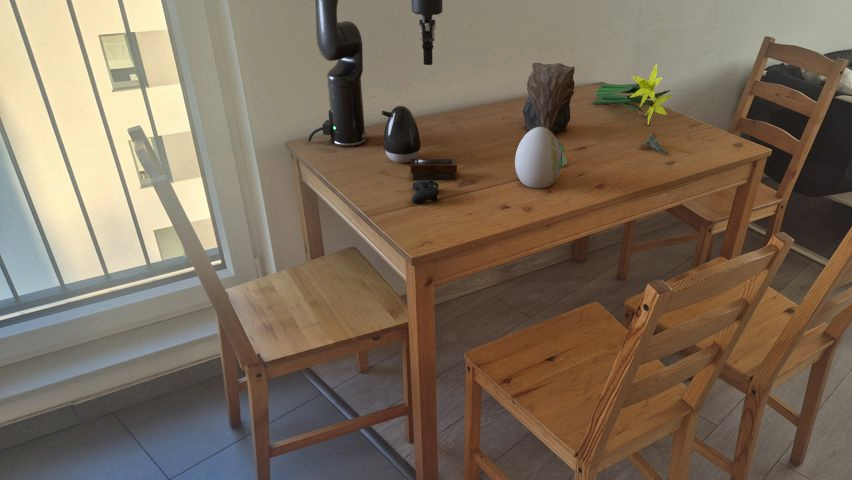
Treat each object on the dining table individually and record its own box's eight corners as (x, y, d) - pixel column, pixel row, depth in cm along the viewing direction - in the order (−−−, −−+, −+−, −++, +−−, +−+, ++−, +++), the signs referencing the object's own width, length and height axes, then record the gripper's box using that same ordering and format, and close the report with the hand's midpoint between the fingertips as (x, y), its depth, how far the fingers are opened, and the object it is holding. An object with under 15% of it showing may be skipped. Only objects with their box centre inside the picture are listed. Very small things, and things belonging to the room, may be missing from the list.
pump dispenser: (379, 155, 191) (376, 102, 183) (414, 150, 195) (413, 98, 187) (389, 168, 183) (386, 114, 175) (425, 164, 187) (424, 110, 179)
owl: (519, 126, 215) (523, 62, 204) (551, 120, 221) (556, 57, 211) (544, 139, 206) (549, 73, 196) (576, 132, 213) (582, 67, 202)
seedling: (552, 176, 195) (557, 173, 189) (532, 157, 194) (536, 153, 188) (568, 158, 196) (574, 154, 189) (548, 139, 195) (553, 134, 188)
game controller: (410, 184, 173) (427, 169, 171) (425, 198, 175) (442, 183, 174) (409, 201, 165) (426, 185, 163) (425, 215, 167) (442, 199, 165)
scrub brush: (456, 173, 183) (456, 155, 180) (456, 180, 179) (456, 161, 176) (411, 173, 181) (410, 155, 179) (411, 180, 178) (410, 162, 175)
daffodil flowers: (622, 99, 245) (695, 101, 216) (597, 127, 242) (667, 132, 213) (601, 61, 236) (673, 57, 207) (574, 89, 233) (644, 88, 204)
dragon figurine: (676, 145, 203) (655, 130, 205) (673, 144, 196) (651, 128, 198) (662, 163, 205) (642, 148, 207) (658, 162, 198) (637, 146, 200)
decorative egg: (566, 189, 176) (572, 134, 168) (522, 193, 173) (525, 137, 165) (550, 171, 186) (555, 118, 178) (508, 174, 183) (510, 121, 175)
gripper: (411, -14, 170) (413, 52, 178) (410, -3, 158) (412, 67, 166) (441, -13, 170) (442, 53, 179) (442, -3, 158) (443, 68, 167)
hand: (428, 60), depth 173 cm, fingers open, 8 cm apart
